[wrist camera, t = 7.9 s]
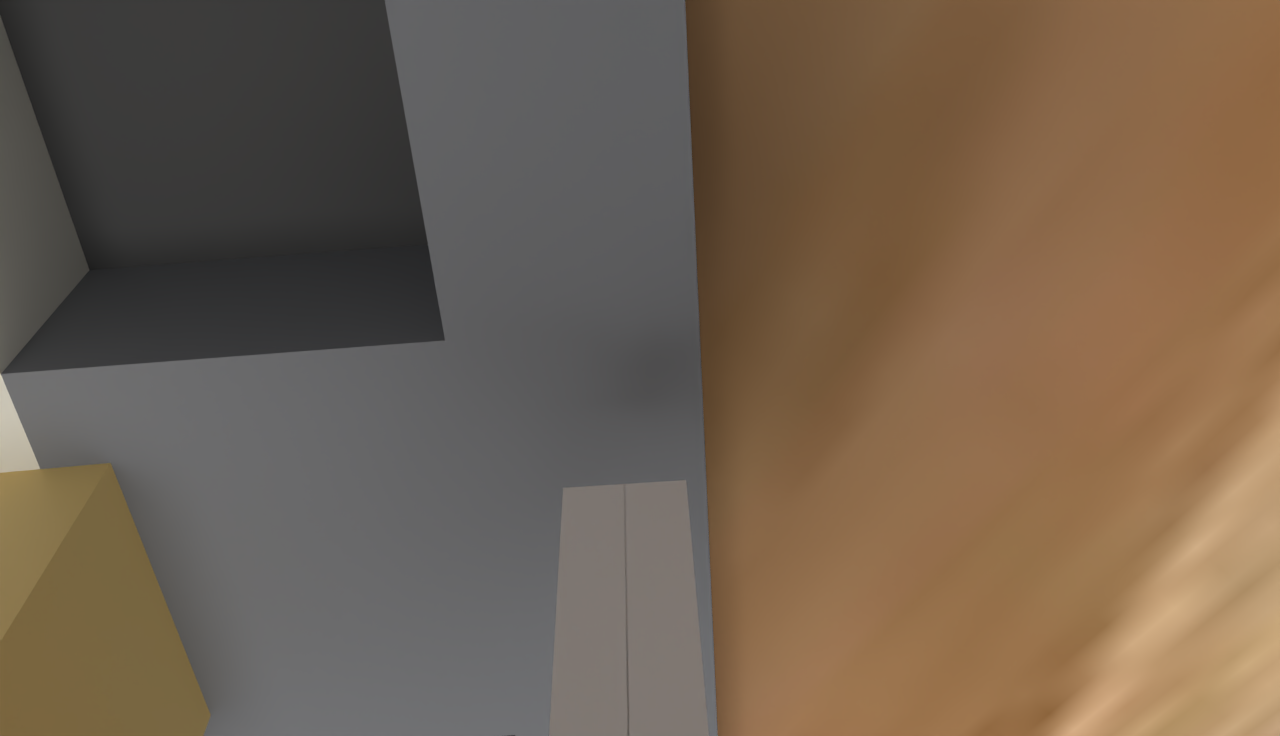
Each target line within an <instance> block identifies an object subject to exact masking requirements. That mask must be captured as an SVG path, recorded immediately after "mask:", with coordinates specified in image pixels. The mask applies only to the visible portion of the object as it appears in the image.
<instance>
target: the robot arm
mask: <svg viewBox="0 0 1280 736" xmlns="http://www.w3.org/2000/svg"><path fill="white" fill-rule="evenodd" d="M549 736H709V731H708V720H707V709H706V698H705V686H704V675H703V664H702V653H701V641H700V630H699V619H698V608H697V597H696V585H695V574H694V563H693V552H692V540H691V529H690V518H689V507H688V495H687V484H686V480H679V481H663V482H647V483H632V484H616V485H600V486H584V487H569V488H563V497H562V515H561V533H560V551H559V569H558V586H557V604H556V622H555V640H554V658H553V675H552V693H551V711H550V729H549Z"/></svg>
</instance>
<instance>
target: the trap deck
mask: <svg viewBox="0 0 1280 736" xmlns="http://www.w3.org/2000/svg"><path fill="white" fill-rule="evenodd" d="M104 463H111V465H112V468H113V470H114V473H115V475H116V478H117V480H118V483H119V485H120V488H121V490H122V493H123V495H124V498H125V500H126V503H127V506H128V508H129V511H130V513H131V516H132V518H133V521H134V523H135V526H136V528H137V531H138V533H139V536H140V538H141V541H142V543H143V546H144V548H145V551H146V553H147V556H148V558H149V561H150V563H151V566H152V568H153V571H154V574H155V576H156V579H157V581H158V584H159V586H160V589H161V591H162V594H163V596H164V599H165V601H166V604H167V606H168V609H169V611H170V614H171V616H172V619H173V621H174V624H175V626H176V629H177V631H178V634H179V636H180V639H181V642H182V644H183V647H184V649H185V652H186V654H187V657H188V659H189V662H190V664H191V667H192V669H193V672H194V674H195V677H196V679H197V682H198V684H199V687H200V689H201V692H202V694H203V697H204V699H205V702H206V705H207V707H208V710H209V712H210V715H211V716H210V719H209V722H208V724H207V727H206V730H205V732H204V735H203V736H549V729H550V711H551V693H552V675H553V658H554V640H555V622H556V604H557V586H558V569H559V551H560V533H561V515H562V497H563V488H569V487H584V486H600V485H616V484H632V483H647V482H663V481H679V480H686V484H687V495H688V507H689V518H690V529H691V540H692V552H693V563H694V574H695V585H696V597H697V608H698V619H699V630H700V641H701V653H702V664H703V675H704V686H705V698H706V709H707V720H708V731H709V736H718V734H717V711H716V689H715V666H714V643H713V621H712V598H711V575H710V553H709V530H708V507H707V485H706V462H705V439H704V417H703V394H702V371H701V349H700V326H699V303H698V281H697V258H696V235H695V213H694V190H693V167H692V145H691V122H690V99H689V77H688V54H687V31H686V9H685V0H0V473H3V472H14V471H26V470H37V469H48V468H59V467H71V466H82V465H93V464H104Z"/></svg>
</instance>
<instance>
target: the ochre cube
mask: <svg viewBox="0 0 1280 736" xmlns="http://www.w3.org/2000/svg"><path fill="white" fill-rule="evenodd" d="M210 716H211V715H210V712H209V710H208V707H207V705H206V702H205V699H204V697H203V694H202V692H201V689H200V687H199V684H198V682H197V679H196V677H195V674H194V672H193V669H192V667H191V664H190V662H189V659H188V657H187V654H186V652H185V649H184V647H183V644H182V642H181V639H180V636H179V634H178V631H177V629H176V626H175V624H174V621H173V619H172V616H171V614H170V611H169V609H168V606H167V604H166V601H165V599H164V596H163V594H162V591H161V589H160V586H159V584H158V581H157V579H156V576H155V574H154V571H153V568H152V566H151V563H150V561H149V558H148V556H147V553H146V551H145V548H144V546H143V543H142V541H141V538H140V536H139V533H138V531H137V528H136V526H135V523H134V521H133V518H132V516H131V513H130V511H129V508H128V506H127V503H126V500H125V498H124V495H123V493H122V490H121V488H120V485H119V483H118V480H117V478H116V475H115V473H114V470H113V468H112V465H111V463H104V464H93V465H82V466H71V467H59V468H48V469H37V470H26V471H14V472H3V473H0V736H203V735H204V732H205V730H206V727H207V724H208V722H209V719H210Z"/></svg>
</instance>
